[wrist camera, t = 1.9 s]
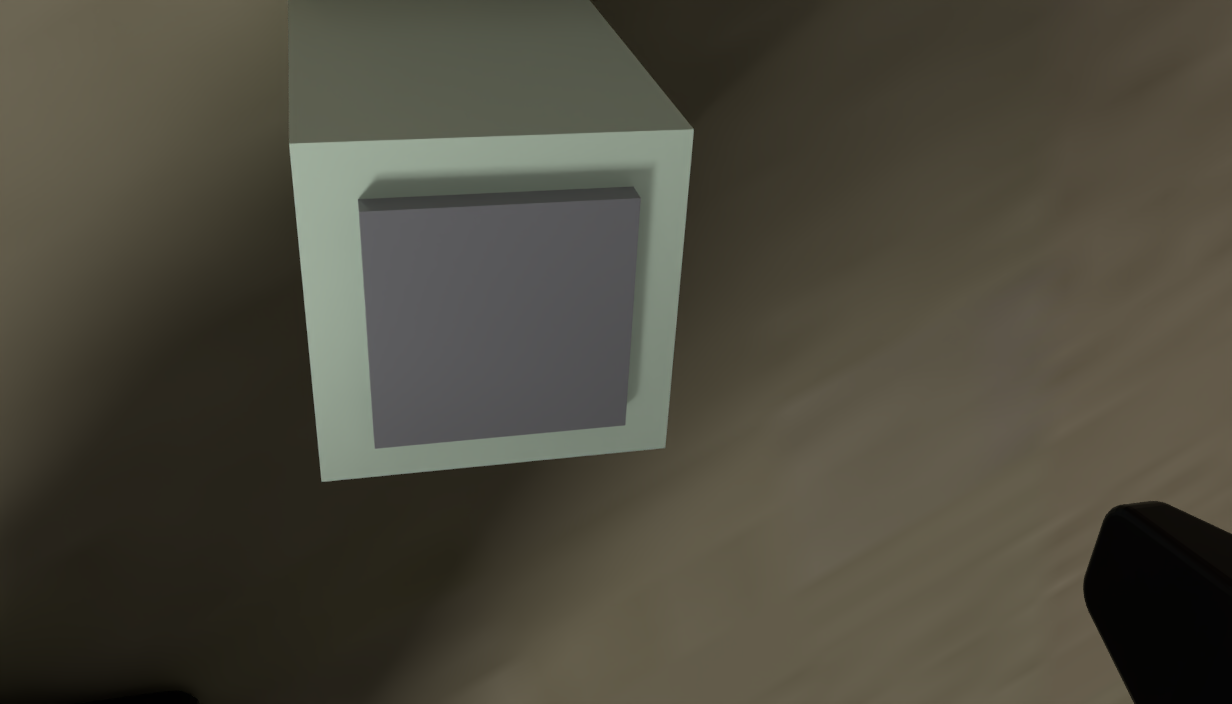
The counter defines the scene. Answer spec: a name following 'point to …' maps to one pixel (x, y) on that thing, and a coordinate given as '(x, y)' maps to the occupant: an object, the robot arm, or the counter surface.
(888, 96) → the counter surface
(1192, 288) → the counter surface
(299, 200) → the plug
